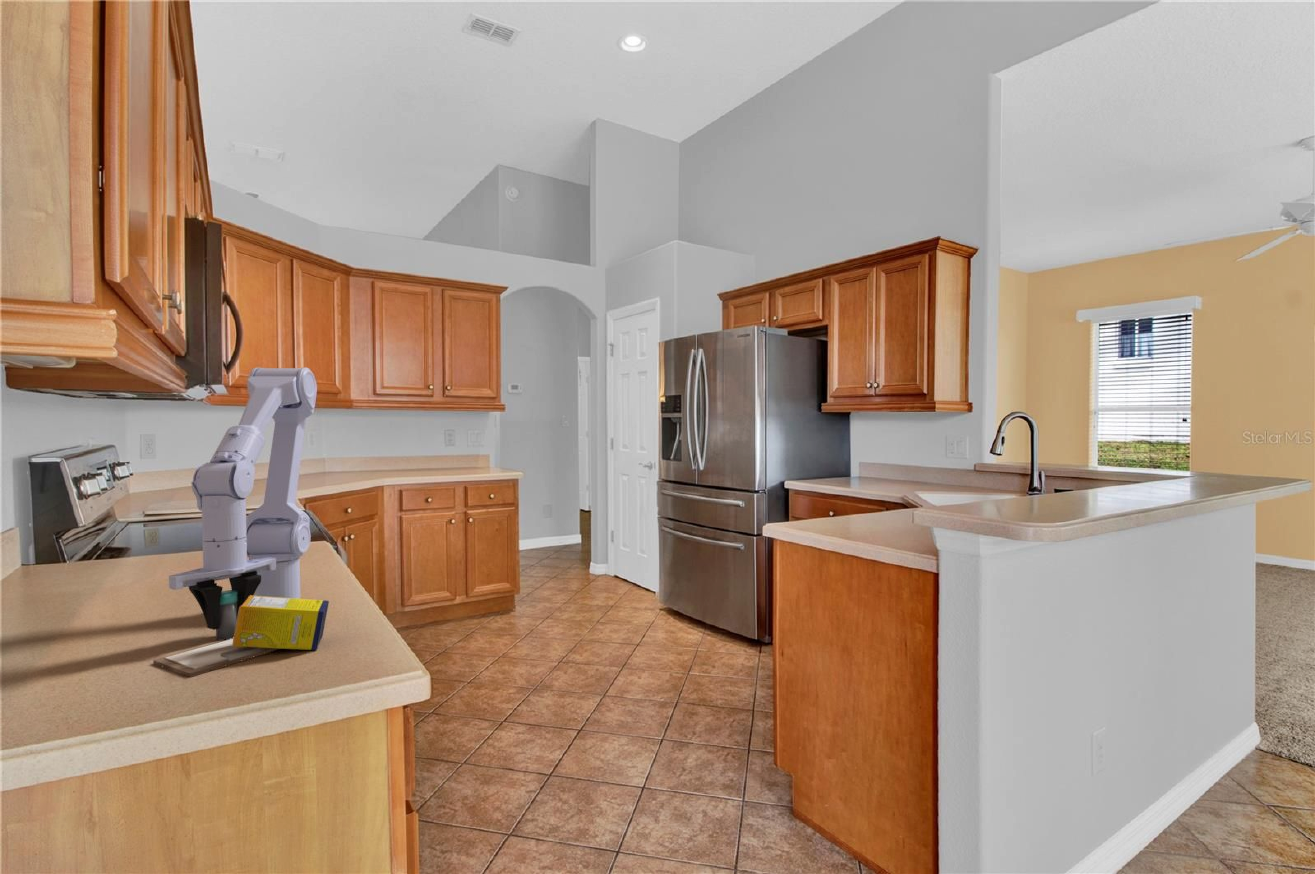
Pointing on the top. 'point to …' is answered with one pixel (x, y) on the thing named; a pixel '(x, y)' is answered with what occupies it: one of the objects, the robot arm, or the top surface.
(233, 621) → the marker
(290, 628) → the supplement box
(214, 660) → the clipboard
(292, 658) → the top surface
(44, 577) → the top surface
